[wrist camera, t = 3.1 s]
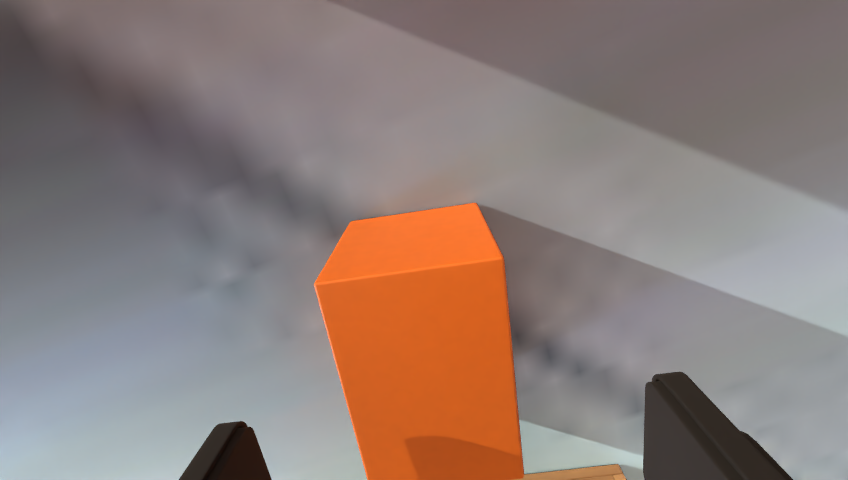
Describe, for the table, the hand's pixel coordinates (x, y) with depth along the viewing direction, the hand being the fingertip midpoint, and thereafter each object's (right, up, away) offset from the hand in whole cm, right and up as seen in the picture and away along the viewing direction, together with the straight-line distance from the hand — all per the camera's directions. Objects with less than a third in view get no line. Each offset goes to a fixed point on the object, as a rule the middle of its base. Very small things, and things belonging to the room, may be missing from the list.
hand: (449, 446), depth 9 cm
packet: (0, +3, +6) cm, 6 cm away
